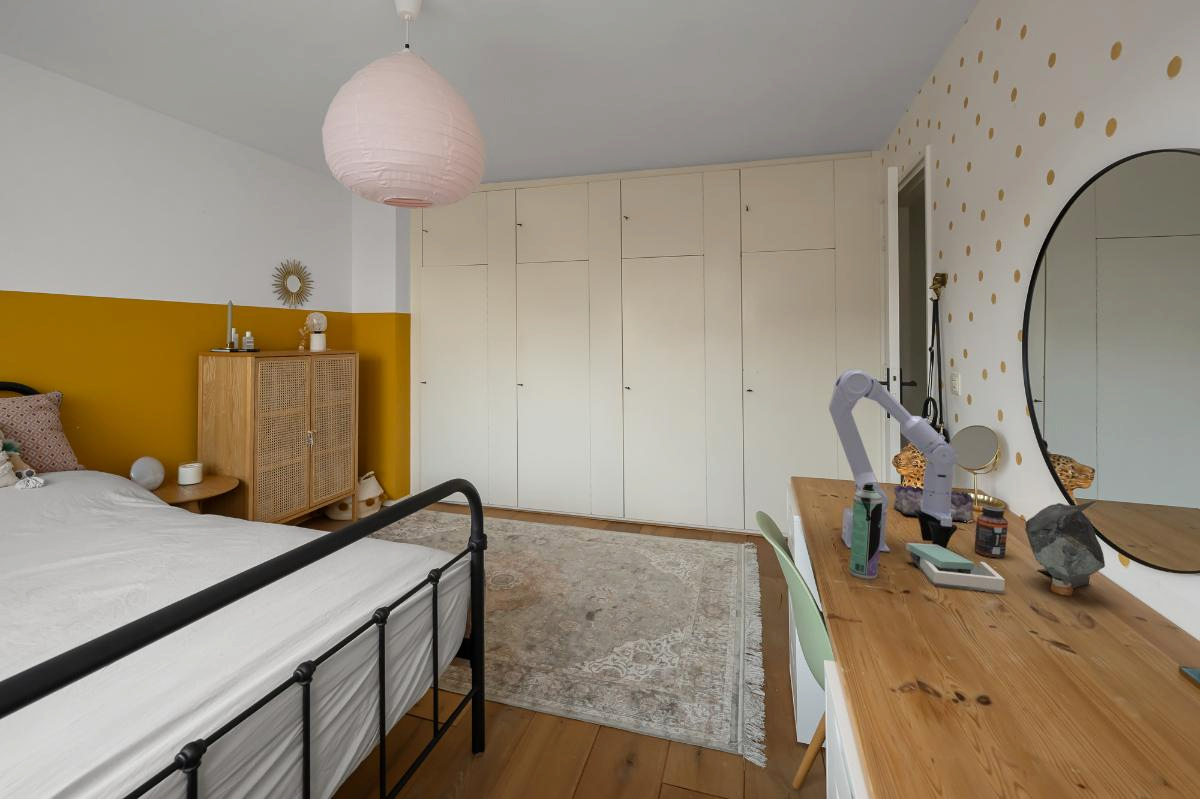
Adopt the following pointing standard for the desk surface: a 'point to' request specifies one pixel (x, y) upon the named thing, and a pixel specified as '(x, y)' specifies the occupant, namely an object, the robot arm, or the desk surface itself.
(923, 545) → the mint green block
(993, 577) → the tray
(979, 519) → the supplement bottle
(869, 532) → the spray can
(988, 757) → the desk surface
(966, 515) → the geode
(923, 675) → the desk surface
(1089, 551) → the faceted stone sculpture
